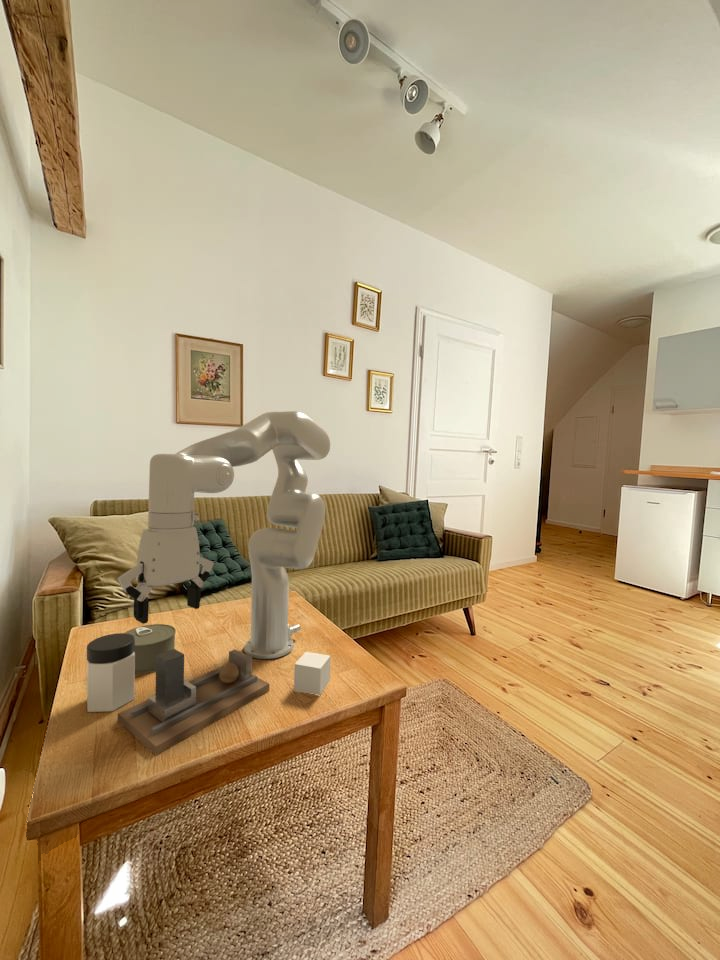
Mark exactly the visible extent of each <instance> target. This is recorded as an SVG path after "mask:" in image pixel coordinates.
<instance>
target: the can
mask: <svg viewBox="0 0 720 960" xmlns="http://www.w3.org/2000/svg"><path fill="white" fill-rule="evenodd" d="M176 632H177V630H176V628H175V627H174V626H172V625H169V624H160V623H159V624H158V623H157V624H156V623H155V624H147V625H142V626H137V627H134V628H131V629H129V630H127V631H125V632H124V633H126V634H131V635H133V636H134V638H135V650H134V653H135V676H136V675H146V674H149V673H154V672H155V673H156V656H157V655H159V654H162V653H165V652H167V651H170V650H173V649H175V644H176V643H175V642H176V641H175V638H176V634H177V633H176Z"/></svg>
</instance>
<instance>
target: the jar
mask: <svg viewBox="0 0 720 960" xmlns="http://www.w3.org/2000/svg"><path fill="white" fill-rule="evenodd" d="M134 650H135V638H134V636H133V635H131V634H126V633H125V632H123V633H122V632H120V633H118V632H117V633H112V634H106V635H102V636H99V637H96V638H95V639H93V640H91V641H90V642H89V643H88V644H87V645H86V665H87V666H86V705H87V706H86V707H87V708H86V709H87V713H100V712H102V713H103V712H105V713H106V712H114V711H115V710H117V709H119V708H121V707H122V706H124V705H126V704H128V703H129V702H131V701H133V700H135V697H136V696H135V688H136V687H135V685H136V684H135V683H136V680H135V677H136V675H135V653H134Z"/></svg>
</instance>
